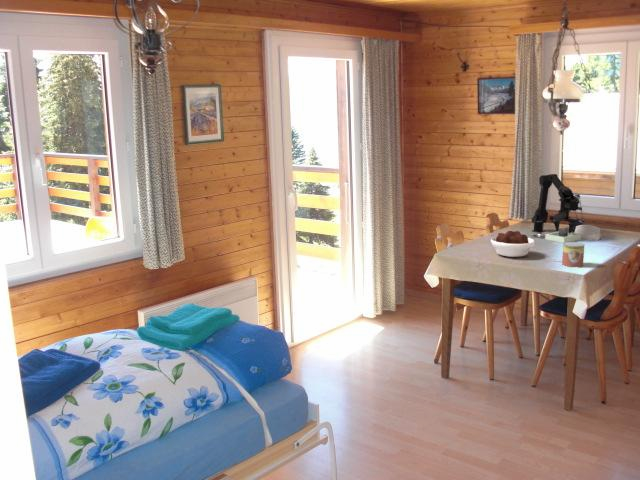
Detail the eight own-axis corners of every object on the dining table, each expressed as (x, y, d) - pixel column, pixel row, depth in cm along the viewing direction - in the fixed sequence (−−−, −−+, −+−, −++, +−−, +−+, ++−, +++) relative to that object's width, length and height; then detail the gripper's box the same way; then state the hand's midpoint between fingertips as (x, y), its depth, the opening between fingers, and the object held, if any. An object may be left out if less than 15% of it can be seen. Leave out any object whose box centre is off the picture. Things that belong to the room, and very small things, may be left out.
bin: (562, 236, 480) (562, 230, 479) (580, 240, 469) (581, 233, 468) (545, 240, 469) (545, 234, 468) (563, 243, 458) (564, 237, 457)
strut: (558, 238, 469) (559, 226, 468) (562, 237, 472) (562, 225, 470) (563, 239, 466) (564, 227, 464) (567, 238, 468) (568, 226, 467)
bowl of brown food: (501, 249, 444) (502, 224, 441) (540, 254, 429) (542, 229, 426) (482, 256, 425) (483, 231, 422) (523, 262, 410) (524, 236, 407)
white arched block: (572, 237, 476) (574, 223, 476) (573, 239, 480) (575, 224, 480) (599, 240, 467) (601, 225, 468) (600, 241, 471) (602, 226, 472)
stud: (538, 234, 487) (539, 231, 486) (550, 236, 479) (550, 233, 479) (530, 236, 481) (530, 233, 481) (541, 238, 474) (541, 235, 474)
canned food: (563, 267, 398) (564, 245, 396) (560, 262, 409) (561, 241, 407) (584, 267, 396) (586, 246, 394) (581, 263, 407) (582, 242, 405)
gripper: (544, 208, 467) (543, 231, 471) (569, 211, 453) (568, 236, 456) (555, 206, 474) (554, 229, 477) (580, 209, 459) (578, 234, 462)
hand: (563, 232), depth 468 cm, fingers open, 9 cm apart
